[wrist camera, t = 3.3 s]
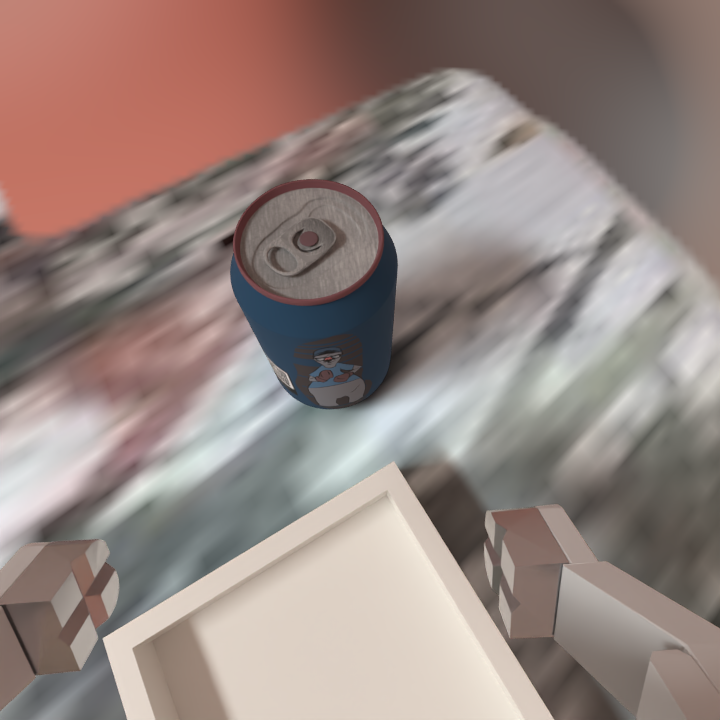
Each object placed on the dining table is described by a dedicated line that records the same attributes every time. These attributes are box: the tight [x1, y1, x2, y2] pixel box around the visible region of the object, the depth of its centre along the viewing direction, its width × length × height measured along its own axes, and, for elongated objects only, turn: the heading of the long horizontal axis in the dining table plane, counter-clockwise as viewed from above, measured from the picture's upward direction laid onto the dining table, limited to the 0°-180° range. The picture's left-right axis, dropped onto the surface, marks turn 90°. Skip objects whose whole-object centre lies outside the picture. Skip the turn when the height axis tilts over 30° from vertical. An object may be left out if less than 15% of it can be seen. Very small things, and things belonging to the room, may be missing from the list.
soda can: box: [230, 179, 398, 409], centre depth 23 cm, size 7×7×12 cm
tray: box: [103, 461, 554, 720], centre depth 20 cm, size 15×15×3 cm
